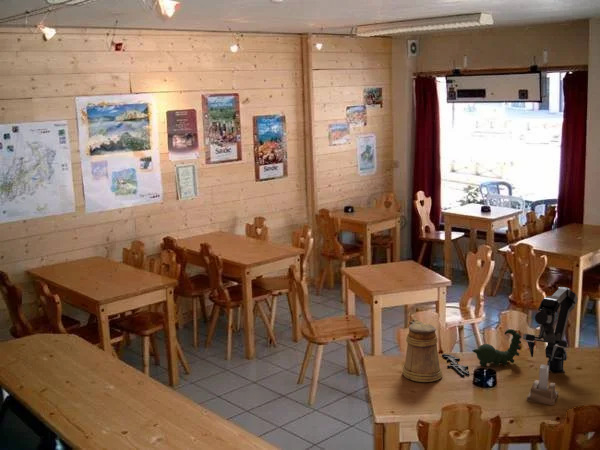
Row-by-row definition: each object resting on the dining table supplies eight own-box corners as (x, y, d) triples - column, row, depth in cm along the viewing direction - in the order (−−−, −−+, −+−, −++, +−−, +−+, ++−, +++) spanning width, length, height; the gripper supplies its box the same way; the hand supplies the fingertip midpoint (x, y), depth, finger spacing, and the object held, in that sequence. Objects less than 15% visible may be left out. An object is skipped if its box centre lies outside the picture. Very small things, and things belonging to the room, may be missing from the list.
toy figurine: (511, 362, 361) (465, 363, 355) (516, 326, 358) (470, 326, 352) (521, 369, 352) (474, 370, 346) (526, 332, 349) (479, 332, 343)
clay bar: (540, 391, 319) (541, 364, 317) (547, 392, 318) (548, 365, 315) (538, 395, 315) (539, 367, 313) (545, 396, 314) (546, 369, 311)
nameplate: (434, 354, 365) (453, 352, 367) (434, 357, 365) (453, 355, 367) (458, 375, 339) (477, 373, 341) (457, 378, 339) (477, 376, 341)
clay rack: (532, 389, 325) (533, 378, 324) (557, 394, 319) (558, 383, 318) (527, 400, 314) (527, 388, 313) (553, 405, 309) (553, 393, 308)
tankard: (412, 385, 331) (413, 334, 326) (393, 366, 354) (393, 318, 349) (448, 380, 336) (449, 330, 331) (426, 362, 358) (427, 314, 353)
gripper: (531, 322, 321) (526, 357, 320) (573, 330, 320) (568, 365, 319) (525, 321, 332) (519, 354, 331) (565, 328, 331) (560, 361, 330)
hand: (542, 359), depth 328 cm, fingers open, 9 cm apart
